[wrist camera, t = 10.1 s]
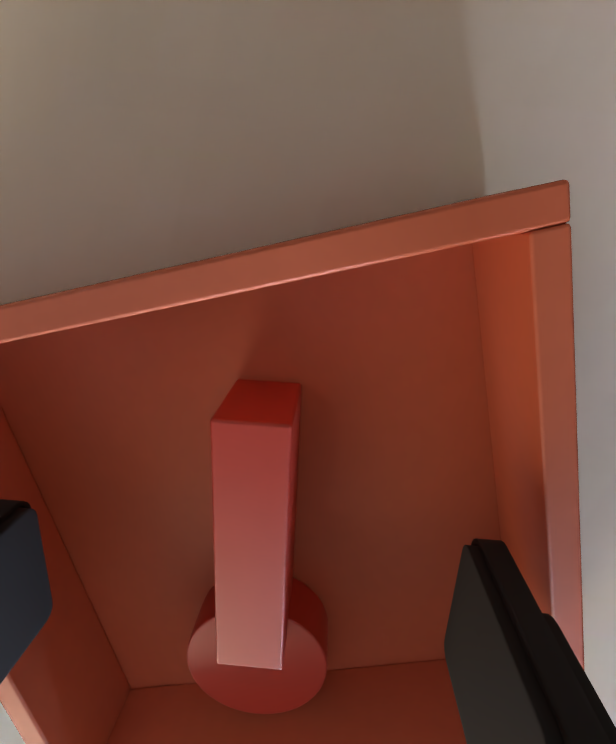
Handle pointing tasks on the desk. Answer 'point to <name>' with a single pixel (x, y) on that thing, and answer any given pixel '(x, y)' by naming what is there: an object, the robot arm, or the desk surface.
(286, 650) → the red spoon
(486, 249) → the red bin
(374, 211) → the desk surface
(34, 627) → the robot arm
